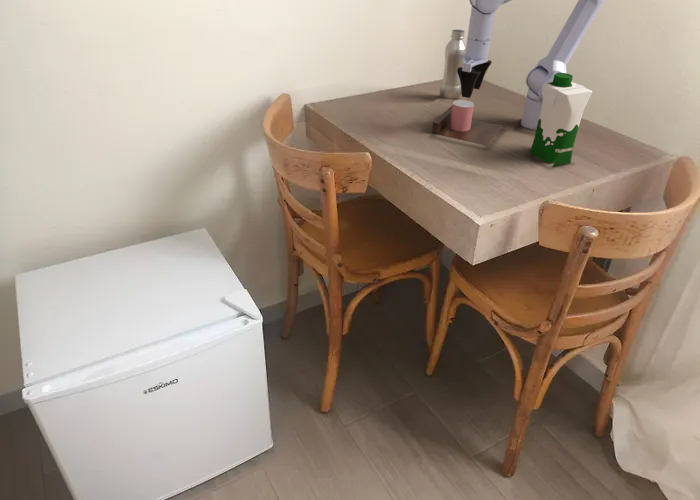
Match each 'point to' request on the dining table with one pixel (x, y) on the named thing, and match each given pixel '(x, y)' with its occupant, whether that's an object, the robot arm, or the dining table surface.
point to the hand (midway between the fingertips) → (470, 92)
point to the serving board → (476, 134)
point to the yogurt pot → (461, 115)
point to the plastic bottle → (453, 66)
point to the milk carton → (559, 119)
